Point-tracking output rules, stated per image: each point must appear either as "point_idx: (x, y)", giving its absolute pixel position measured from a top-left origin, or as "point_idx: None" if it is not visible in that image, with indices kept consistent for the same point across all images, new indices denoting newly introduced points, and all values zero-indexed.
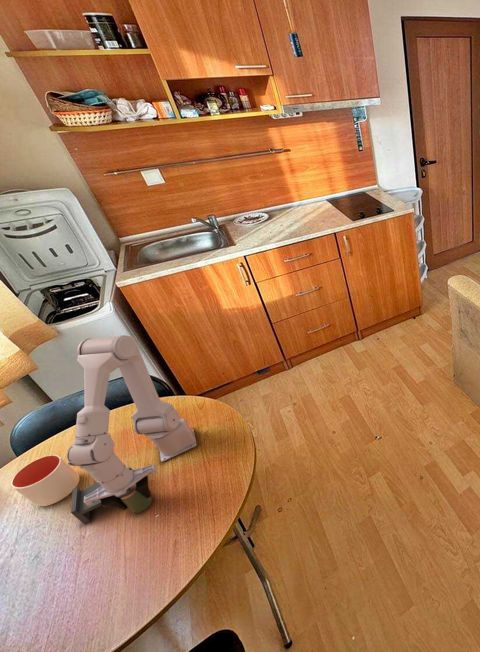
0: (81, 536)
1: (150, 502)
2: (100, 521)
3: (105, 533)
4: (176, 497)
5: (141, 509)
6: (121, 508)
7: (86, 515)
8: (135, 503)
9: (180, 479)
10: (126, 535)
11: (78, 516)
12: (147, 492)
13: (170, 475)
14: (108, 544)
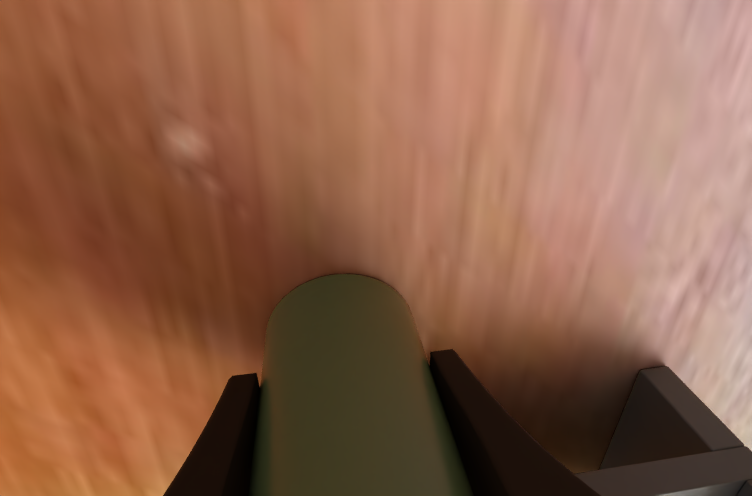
0: (710, 287)
1: (269, 321)
2: (595, 337)
3: (599, 221)
4: (20, 257)
5: (333, 290)
6: (477, 383)
7: (661, 418)
8: (344, 378)
9: (47, 415)
10: (472, 82)
11: (732, 446)
12: (189, 464)
13: (152, 469)
14: (613, 84)
